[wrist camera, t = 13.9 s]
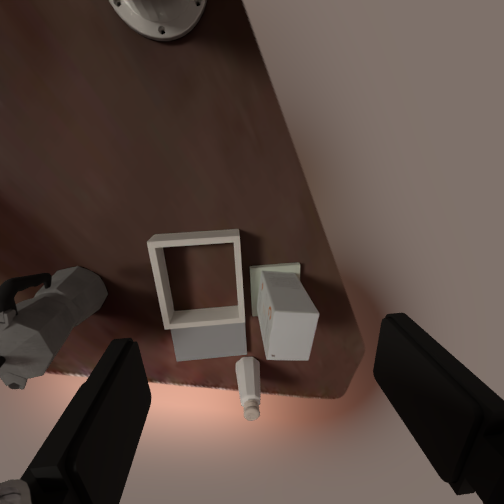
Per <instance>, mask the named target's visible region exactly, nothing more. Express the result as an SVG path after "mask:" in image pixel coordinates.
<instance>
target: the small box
mask: <svg viewBox="0 0 504 504" xmlns="http://www.w3.org/2000/svg"><path fill="white" fill-rule="evenodd" d="M257 313H258V318H259V323H260V328H261V334H262V339H263V344H264V349H265V354H266V359H267V360H309V358H310V353H311V349H312V345H313V340H314V336H315V332H316V327H317V323H318V319H319V312H318V310H317V309H316V307H315V305H314V304H313V302H312V300H311V299H310V297H309V295H308V294H307V292H306V290H305V289H304V287H303V285H302V284H301V282H300V280H299V279H298V277H297V275H296V274H295V273H294V272H276V271H261V277H260V284H259V292H258V300H257Z"/></svg>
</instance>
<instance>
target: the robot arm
mask: <svg viewBox="0 0 504 504" xmlns="http://www.w3.org/2000/svg"><path fill="white" fill-rule="evenodd" d="M109 2H110V3H111V5H112V7H113V8H114V10H115V11H116V12H117V14H118V15H119V16H120V18H121V19H122V20H123V21H124V22H125V23H126V24H127V25H128V26H129V27H130V28H131V29H133V30H134V31H135V32H137V33H138V34H140V35H142V36H144V37H146V38H149V39H152V40H156V41H171V40H176V39H178V38H180V37H183V36H185V35H186V34H187V33H188V32H190V31H191V30H192V29H193V28H194V27H195V25H196V24H197V23H198V22H199V20H200V18H201V16H202V14H203V12H204V9H205V6H206V3H207V0H109ZM119 4H121V5H120V6H119V7H118V5H119ZM197 4H200V6H196V5H197ZM163 31H164V32H165V34H163V35H162V32H163ZM373 373H374V377H375V379H376V381H377V383H378V384H379V386H380V387H381V389H382V390H383V392H384V393H385V395H386V396H387V398H388V399H389V401H390V402H391V404H392V405H393V407H394V408H395V410H396V411H397V413H398V414H399V416H400V417H401V419H402V420H403V422H404V423H405V425H406V426H407V428H408V429H409V431H410V432H411V434H412V435H413V437H414V438H415V440H416V442H417V443H418V445H419V446H420V448H421V449H422V451H423V452H424V454H425V455H426V457H427V458H428V459H429V461H430V463H431V464H432V466H433V467H434V469H435V470H436V472H437V473H438V475H439V476H440V477H441V479H442V480H443V481H445V482H447V483H449V484H450V486H451V487H452V489H453V490H454V492H455V493H456V495H462V494H469V493H474V492H475V491H476V493H477V495H478V496H479V497H480V499H481V500H482V501H483V504H504V400H503V399H501V398H500V397H499V396H498V395H497V394H496V393H494V391H492V390H491V389H490V388H489V387H488V386H487V385H486V384H484V383H483V382H482V381H481V380H480V379H479V378H478V377H476V376H475V375H474V374H473V373H472V372H471V371H470V370H469V369H467V368H466V367H465V366H464V365H463V364H462V363H461V362H459V361H458V360H457V359H456V358H455V357H454V356H452V354H450V353H449V352H448V351H447V350H446V349H445V348H443V347H442V346H441V345H440V344H439V343H438V342H437V341H436V340H434V339H433V338H432V337H431V336H430V335H429V334H428V333H426V332H425V331H424V330H423V329H422V328H421V327H420V326H419V325H417V324H416V323H415V322H414V321H413V320H412V319H411V318H409V317H408V316H407V315H406V314H404V313H394V314H387V315H386V317H385V318H384V319H382V323H381V328H380V334H379V340H378V346H377V352H376V358H375V363H374V369H373ZM150 404H151V392H150V388H149V385H148V381H147V377H146V373H145V369H144V365H143V361H142V358H141V354H140V350H139V346H138V343H137V342H133V340H132V339H131V338H123V339H114V340H113V341H112V342H111V343H110V345H109V346H108V348H107V349H106V351H105V352H104V354H103V356H102V357H101V359H100V360H99V362H98V363H97V365H96V367H95V368H94V370H93V371H92V373H91V374H90V376H89V377H88V379H87V381H86V382H85V383H84V384H82V386H81V387H80V388H79V390H78V391H77V393H76V394H75V396H74V397H73V399H72V400H71V402H70V403H69V405H68V406H67V408H66V409H65V411H64V412H63V414H62V416H61V417H60V419H59V420H58V422H57V423H56V425H55V426H54V428H53V429H52V431H51V432H50V434H49V436H48V437H47V439H46V440H45V442H44V443H43V445H42V447H41V448H40V449H39V451H38V452H37V454H36V456H35V457H34V459H33V460H32V462H31V463H30V465H29V466H28V468H27V469H26V471H25V473H24V474H23V476H22V477H21V479H17V480H8V481H5V482H2V483H0V504H119V502H120V499H121V496H122V493H123V490H124V487H125V483H126V480H127V477H128V474H129V471H130V468H131V465H132V461H133V458H134V455H135V452H136V449H137V445H138V443H139V439H140V436H141V433H142V430H143V427H144V424H145V421H146V417H147V414H148V411H149V408H150Z"/></svg>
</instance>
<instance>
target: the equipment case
mask: <svg viewBox="0 0 504 504" xmlns="http://www.w3.org/2000/svg"><path fill="white" fill-rule="evenodd" d="M232 242H234V253H235V267H236V280H237V294H238V306H228V307H216V308H204V309H193V310H181V311H174V306H173V300H172V295H171V289H170V284H169V278H168V273H167V267H166V262H165V256H164V251H163V247H174V246H188V245H203V244H218V243H232ZM147 245H148V250H149V255H150V260H151V265H152V270H153V275H154V280H155V285H156V289H157V294H158V299H159V304H160V309H161V314H162V319H163V324H164V329H165V330H166V329H171V334H172V339H173V344H174V349H175V354H176V360H177V361H186V360H196V359H206V358H216V357H226V356H237V355H247V346H246V331H245V310H244V295H243V279H242V263H241V248H240V234H239V229H231V230H216V231H201V232H185V233H170V234H155V235H153V236H152V237H151V238H150V239H149V240H148V241H147Z"/></svg>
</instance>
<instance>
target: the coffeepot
mask: <svg viewBox="0 0 504 504" xmlns="http://www.w3.org/2000/svg"><path fill="white" fill-rule="evenodd" d="M41 283H44V286H43V287H42V288H41V289H40V290H39V291H38V292H37V293H36V295H35V297H34V298H33V299H29V300H25V301H22V302H20V303H18V304H15V301H14V297H15V295H16V293H17V292H18V291H22V290H24V289H26V288H28V287H31V286H38V285H40V284H41ZM107 295H108V293H107V290H106V287H105V284H104V282H103V281H102V279H101V278H100V276H98V275H97V274H95V273H94V272H92V271H90V270H88V269H85V268H81V267H79V266H77V267H71V268H67V269H63V270H59V271H57V272H56V273H55V274H54V275H53V276H52V277H51V275H50V274H49V273H42V274H36V275H29V276H24V277H16V278H11V279H9V280H7V281H5V282H4V283H3V284H2V285H1V286H0V378H1V380H3V382H4V383H5V385H6V386H7V385H8V386H9V388H11V389H24V388H25V385H26V382H27V379H28V378H33V377H38V376H42V375H44V373H45V371H46V370H47V368H48V367H49V365H50V364H51V362H52V361H53V359H54V357H55V356H56V354H57V353H58V351H59V350H60V348H61V347H62V345H63V344H64V342H65V340H66V339H67V337H68V336H69V334H70V332H71V330H72V329H73V327H75V326H77V325H78V324H80V323H81V322H83V321H84V320H85V319H87V318H88V317H89V316H91V315H92V314H93V313H95V312H96V311H98V310H99V309H100V308H101V306H102V304H103V302H104V301H105V299H106V297H107Z"/></svg>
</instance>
